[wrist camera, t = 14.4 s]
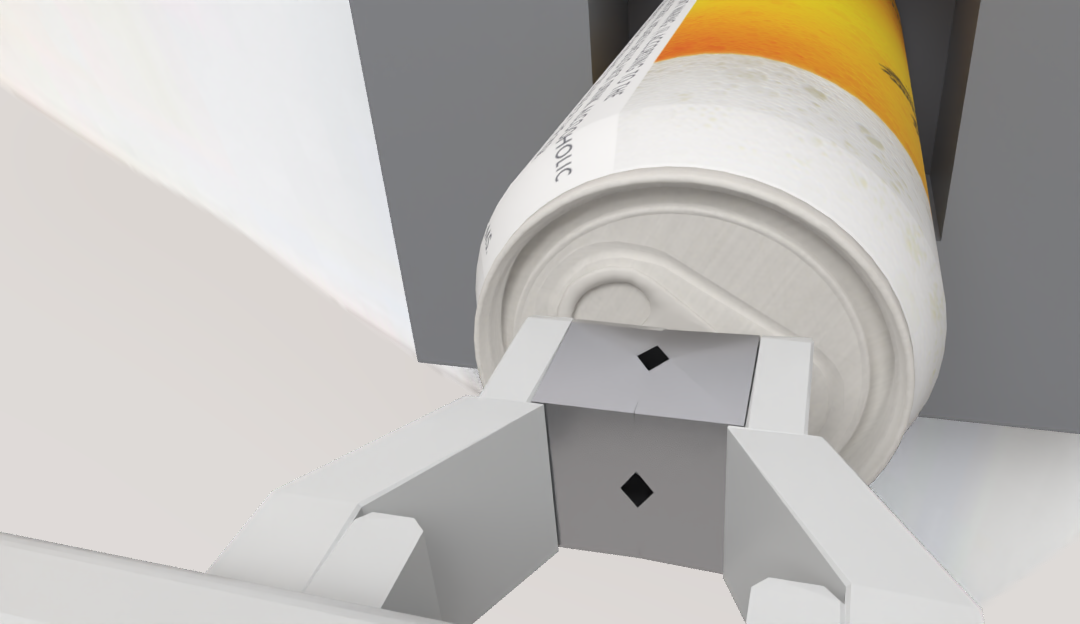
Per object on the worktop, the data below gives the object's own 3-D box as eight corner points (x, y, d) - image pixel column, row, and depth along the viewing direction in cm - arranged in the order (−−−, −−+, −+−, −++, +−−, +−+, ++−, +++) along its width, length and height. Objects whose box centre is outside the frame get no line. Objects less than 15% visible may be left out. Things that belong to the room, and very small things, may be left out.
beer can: (780, 202, 25) (703, 624, 13) (615, 64, 24) (367, 369, 12) (957, 33, 21) (1088, 394, 9) (768, -133, 21) (636, 16, 8)
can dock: (1394, -520, 15) (1584, -621, 11) (1132, 333, 25) (1185, 445, 21) (386, -354, 21) (276, -382, 17) (476, 283, 31) (418, 362, 27)
